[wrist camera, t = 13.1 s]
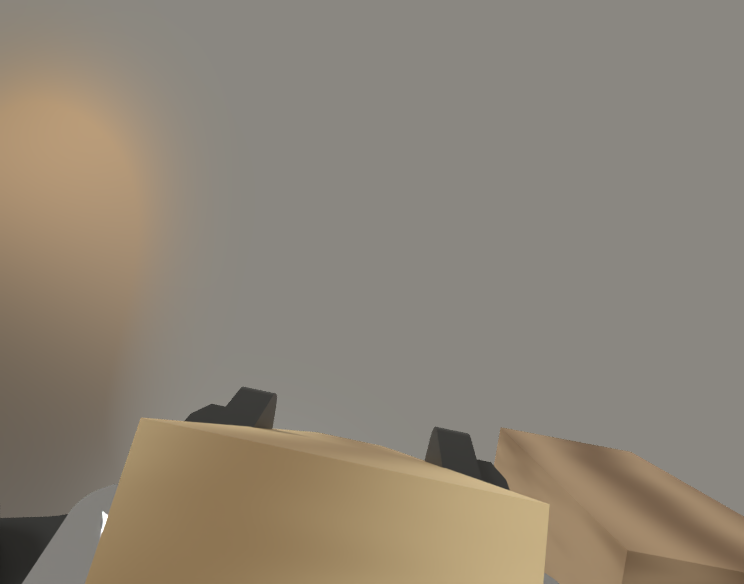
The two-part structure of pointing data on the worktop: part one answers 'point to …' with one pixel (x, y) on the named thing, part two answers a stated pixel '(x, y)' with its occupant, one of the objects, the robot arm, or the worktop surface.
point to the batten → (307, 514)
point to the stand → (621, 515)
